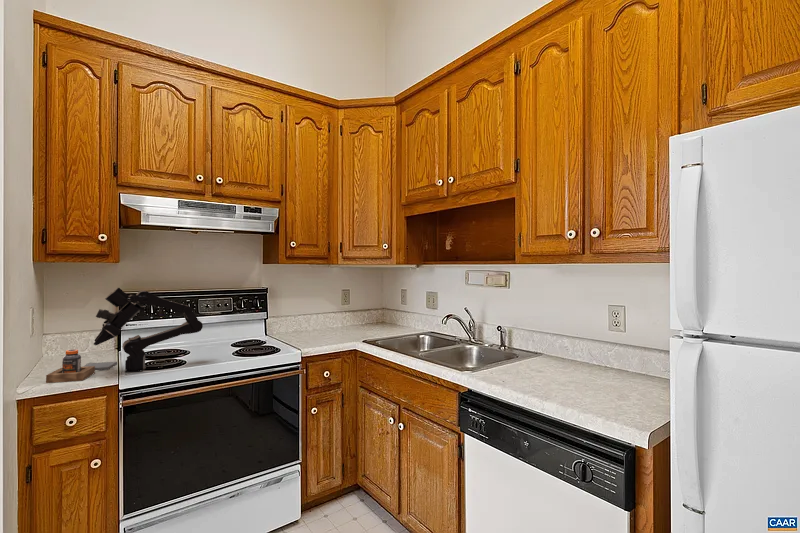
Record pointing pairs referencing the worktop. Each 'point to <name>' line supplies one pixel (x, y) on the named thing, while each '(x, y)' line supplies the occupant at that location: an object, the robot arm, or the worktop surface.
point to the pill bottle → (71, 362)
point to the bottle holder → (70, 375)
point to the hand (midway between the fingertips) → (94, 343)
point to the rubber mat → (102, 365)
